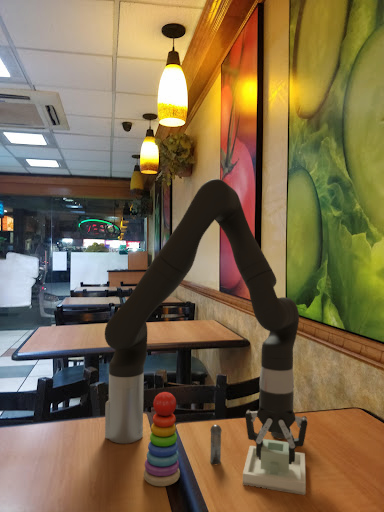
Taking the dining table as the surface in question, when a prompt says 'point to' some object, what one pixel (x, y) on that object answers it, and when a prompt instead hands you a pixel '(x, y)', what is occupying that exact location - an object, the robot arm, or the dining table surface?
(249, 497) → the dining table surface
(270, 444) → the pale green hollow block
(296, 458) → the tray
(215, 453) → the post
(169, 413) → the stacking toy
